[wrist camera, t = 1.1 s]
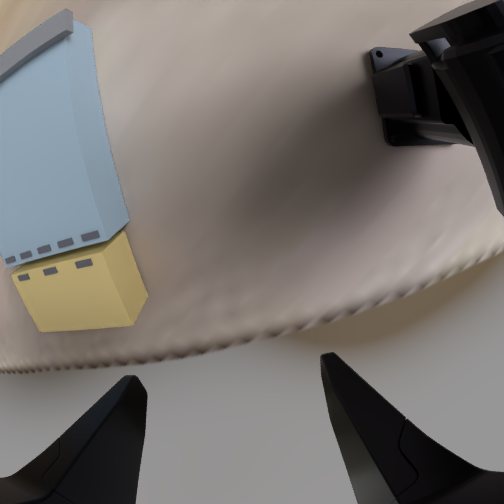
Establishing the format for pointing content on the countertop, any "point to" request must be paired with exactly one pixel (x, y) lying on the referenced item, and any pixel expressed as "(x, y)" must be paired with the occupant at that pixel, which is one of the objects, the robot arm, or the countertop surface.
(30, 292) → the stub
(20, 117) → the ticket
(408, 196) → the countertop surface
